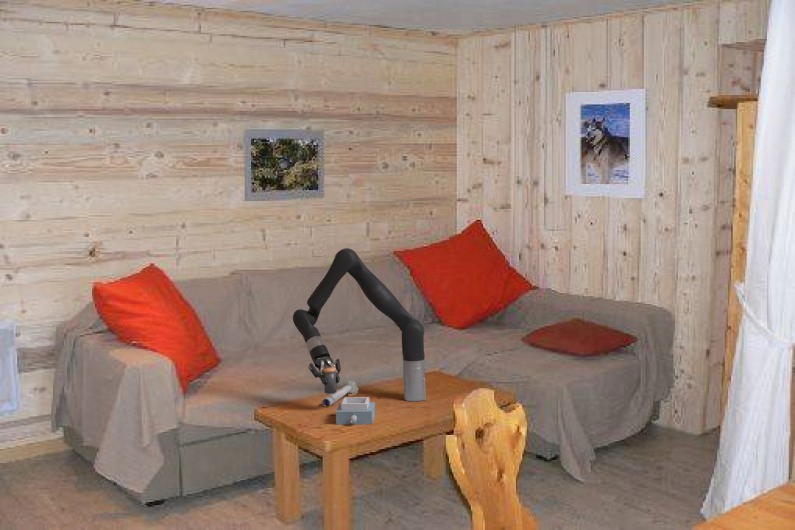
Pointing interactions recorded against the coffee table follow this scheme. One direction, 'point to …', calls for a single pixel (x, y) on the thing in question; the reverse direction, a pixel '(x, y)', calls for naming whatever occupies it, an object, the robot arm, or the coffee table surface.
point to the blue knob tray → (355, 411)
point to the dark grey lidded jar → (330, 380)
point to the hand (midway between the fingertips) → (332, 382)
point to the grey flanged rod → (341, 393)
